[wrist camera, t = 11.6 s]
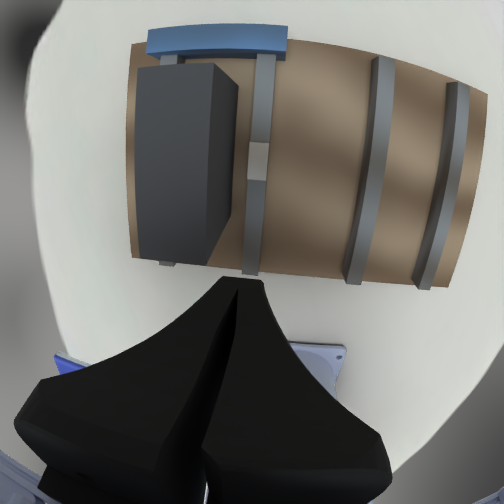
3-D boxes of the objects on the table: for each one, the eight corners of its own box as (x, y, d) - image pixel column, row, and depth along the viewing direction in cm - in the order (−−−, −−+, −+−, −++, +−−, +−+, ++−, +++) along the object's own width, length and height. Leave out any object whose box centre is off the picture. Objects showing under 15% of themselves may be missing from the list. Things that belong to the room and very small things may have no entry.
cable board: (443, 282, 20) (462, 305, 17) (136, 252, 21) (116, 273, 18) (481, 94, 14) (508, 94, 11) (137, 46, 15) (112, 36, 12)
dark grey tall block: (231, 215, 19) (205, 265, 12) (184, 211, 19) (139, 258, 12) (238, 85, 15) (214, 62, 9) (188, 85, 15) (137, 67, 9)
